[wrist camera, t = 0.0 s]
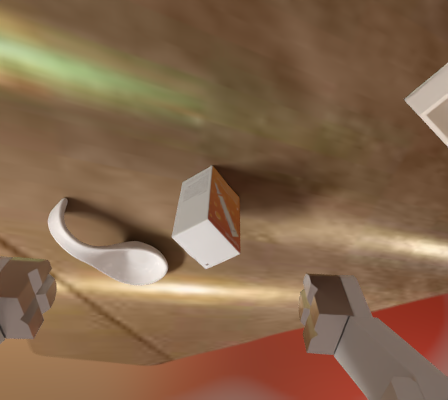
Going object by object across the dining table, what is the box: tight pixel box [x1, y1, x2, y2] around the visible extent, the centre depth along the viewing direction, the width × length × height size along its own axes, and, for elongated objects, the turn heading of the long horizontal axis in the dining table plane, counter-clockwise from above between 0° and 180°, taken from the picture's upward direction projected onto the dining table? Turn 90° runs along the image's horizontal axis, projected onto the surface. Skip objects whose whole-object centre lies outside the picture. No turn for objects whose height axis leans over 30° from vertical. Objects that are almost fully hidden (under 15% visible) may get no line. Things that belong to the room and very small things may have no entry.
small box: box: [172, 166, 240, 269], centre depth 53 cm, size 8×6×13 cm
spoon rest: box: [48, 198, 168, 285], centre depth 63 cm, size 24×12×7 cm, turn 46°
